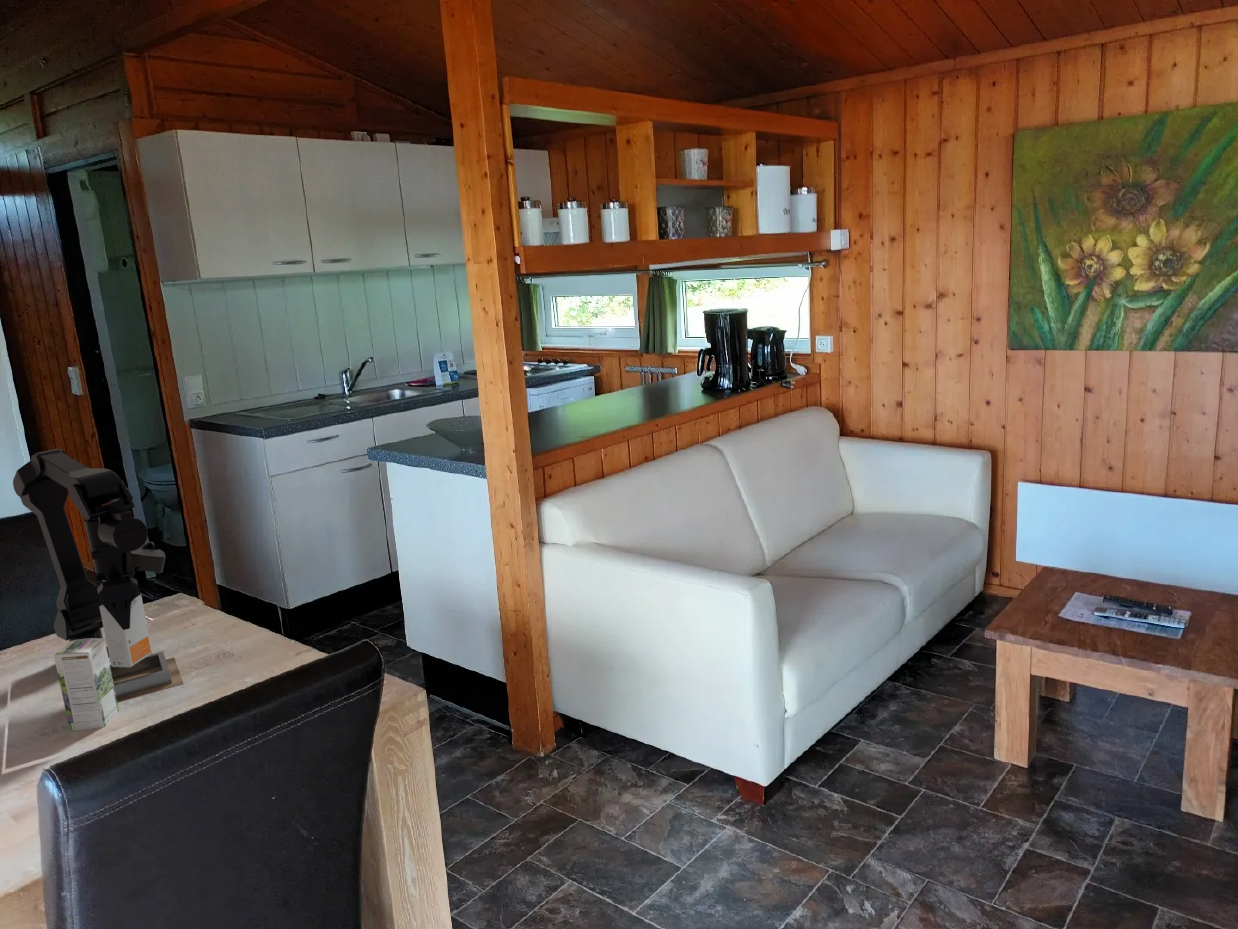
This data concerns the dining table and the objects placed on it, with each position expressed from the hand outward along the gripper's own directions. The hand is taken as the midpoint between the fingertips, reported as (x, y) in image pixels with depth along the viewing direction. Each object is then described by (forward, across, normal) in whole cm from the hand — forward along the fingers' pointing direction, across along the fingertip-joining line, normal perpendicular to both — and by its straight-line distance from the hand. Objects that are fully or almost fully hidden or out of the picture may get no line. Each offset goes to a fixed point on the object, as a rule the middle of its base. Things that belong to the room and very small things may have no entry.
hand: (124, 622), depth 168 cm
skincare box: (+8, 0, 0) cm, 8 cm away
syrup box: (+12, -12, +7) cm, 19 cm away
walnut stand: (+12, 0, 0) cm, 12 cm away
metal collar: (+12, 0, 0) cm, 12 cm away
